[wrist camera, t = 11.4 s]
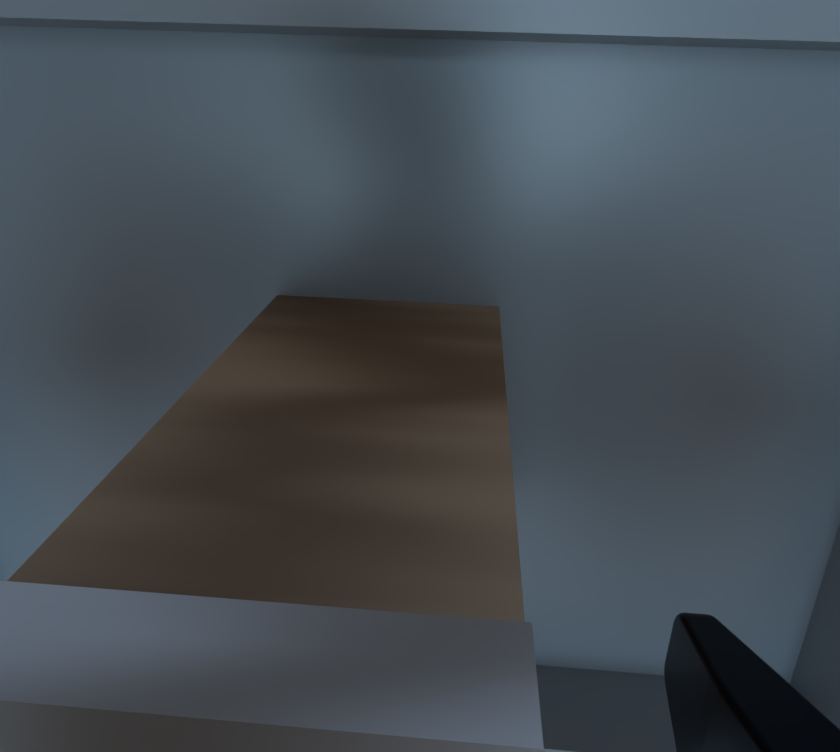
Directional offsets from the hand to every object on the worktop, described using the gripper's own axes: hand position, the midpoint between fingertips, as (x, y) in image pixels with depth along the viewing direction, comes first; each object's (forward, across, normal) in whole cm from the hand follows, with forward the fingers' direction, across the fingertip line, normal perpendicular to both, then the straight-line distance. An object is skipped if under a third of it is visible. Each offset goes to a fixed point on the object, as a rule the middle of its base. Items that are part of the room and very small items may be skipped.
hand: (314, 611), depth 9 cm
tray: (+7, 0, 0) cm, 7 cm away
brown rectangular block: (+7, 0, 0) cm, 7 cm away
